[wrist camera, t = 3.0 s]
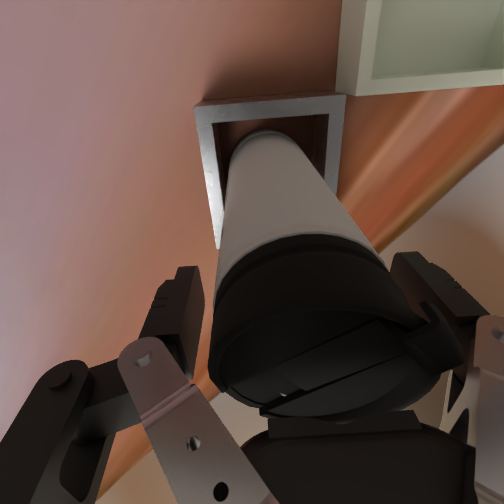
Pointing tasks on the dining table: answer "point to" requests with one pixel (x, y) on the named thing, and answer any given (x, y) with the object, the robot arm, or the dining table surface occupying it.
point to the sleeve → (261, 107)
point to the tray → (419, 45)
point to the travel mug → (312, 300)
